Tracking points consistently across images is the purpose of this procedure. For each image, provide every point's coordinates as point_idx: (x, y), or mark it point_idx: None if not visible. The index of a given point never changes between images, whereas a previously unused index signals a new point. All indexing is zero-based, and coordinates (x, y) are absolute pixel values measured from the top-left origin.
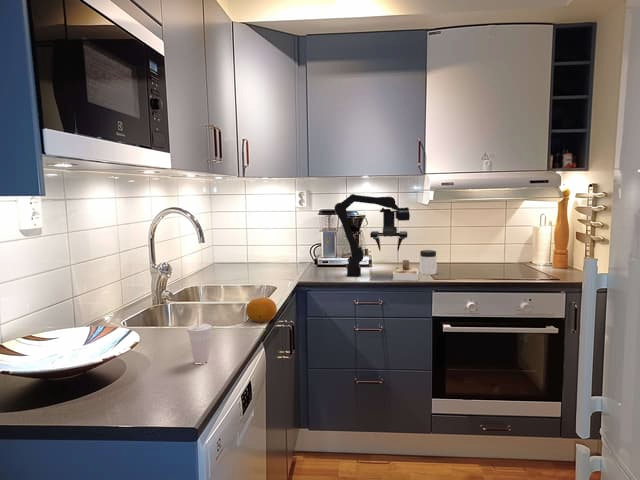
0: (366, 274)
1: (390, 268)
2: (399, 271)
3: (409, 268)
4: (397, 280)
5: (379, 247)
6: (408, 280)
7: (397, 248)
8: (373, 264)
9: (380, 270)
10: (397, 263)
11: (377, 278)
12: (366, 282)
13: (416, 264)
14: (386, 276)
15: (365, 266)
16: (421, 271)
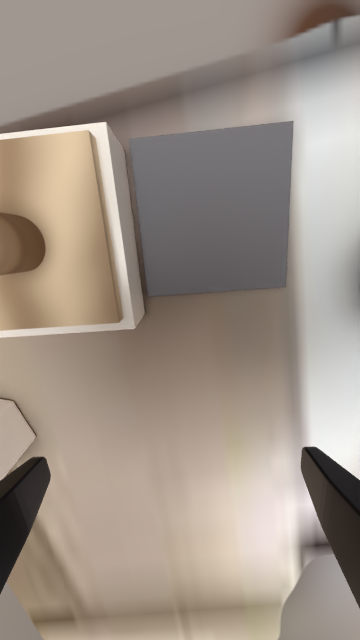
0: (320, 348)
1: (200, 514)
2: (47, 135)
3: (4, 292)
4: None
5: (352, 492)
6: None
7: (13, 488)
8: (293, 584)
9: (246, 464)
10: (184, 610)
11: (240, 201)
12: (311, 52)
13: (99, 599)
14: (189, 284)
15: None
16: (7, 415)
